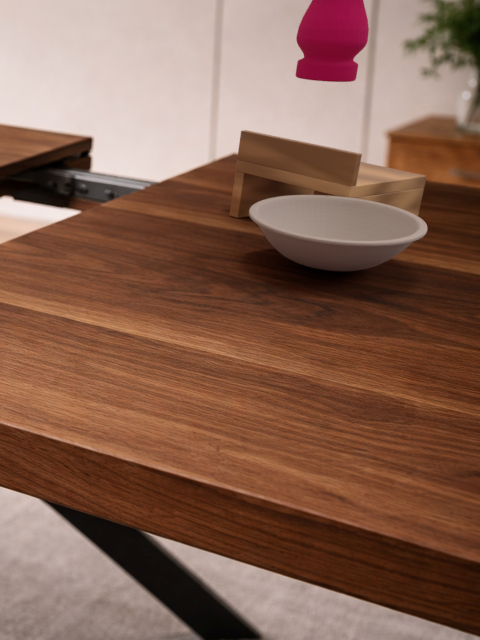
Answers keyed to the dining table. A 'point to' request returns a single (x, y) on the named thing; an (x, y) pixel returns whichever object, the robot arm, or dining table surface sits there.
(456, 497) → the dining table surface
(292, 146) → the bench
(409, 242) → the dish
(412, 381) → the dining table surface
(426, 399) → the dining table surface
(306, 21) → the pepper mill
